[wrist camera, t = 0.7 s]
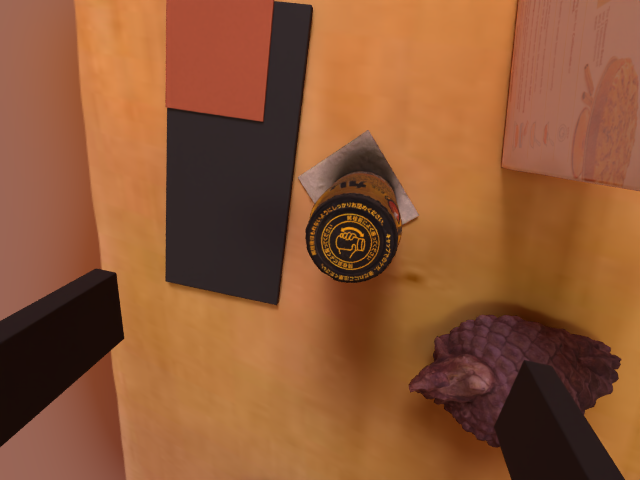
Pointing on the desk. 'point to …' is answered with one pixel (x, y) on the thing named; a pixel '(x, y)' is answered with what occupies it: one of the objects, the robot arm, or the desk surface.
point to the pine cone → (509, 368)
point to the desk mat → (232, 140)
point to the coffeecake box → (576, 92)
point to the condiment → (355, 212)
